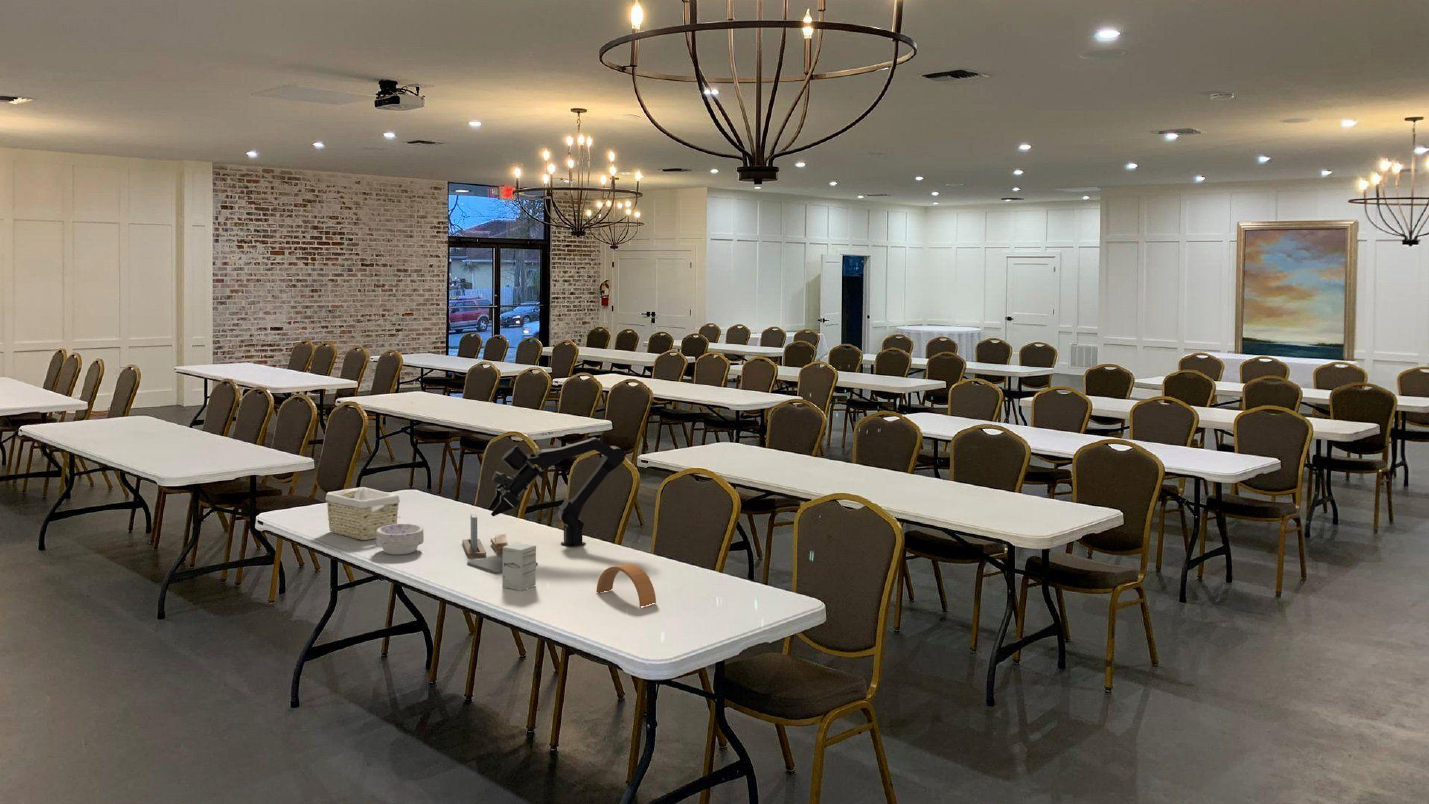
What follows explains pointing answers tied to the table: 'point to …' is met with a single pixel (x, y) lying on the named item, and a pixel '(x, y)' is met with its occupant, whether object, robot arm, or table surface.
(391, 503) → the storage basket
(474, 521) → the tall grey pillar
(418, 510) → the table surface
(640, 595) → the arch
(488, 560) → the pad
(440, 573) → the table surface
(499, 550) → the frame
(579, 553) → the table surface
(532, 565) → the supplement box
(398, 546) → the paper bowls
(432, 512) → the table surface
